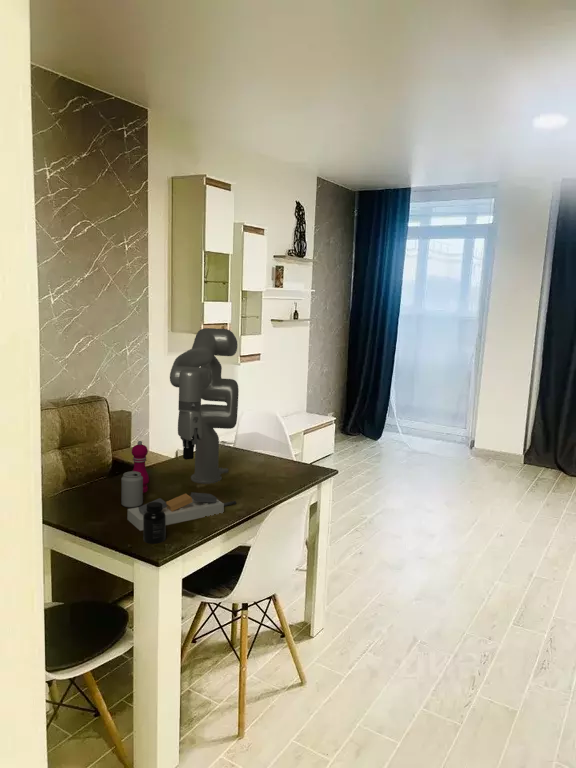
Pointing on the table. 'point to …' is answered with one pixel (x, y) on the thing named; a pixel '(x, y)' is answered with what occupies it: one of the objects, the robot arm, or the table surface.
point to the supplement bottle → (154, 524)
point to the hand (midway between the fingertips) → (188, 458)
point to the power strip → (181, 512)
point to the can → (132, 489)
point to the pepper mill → (141, 462)
